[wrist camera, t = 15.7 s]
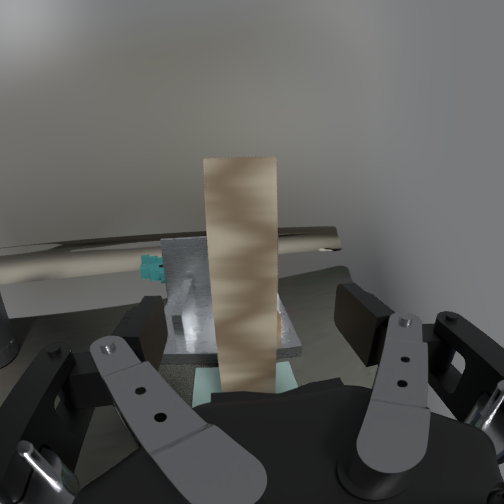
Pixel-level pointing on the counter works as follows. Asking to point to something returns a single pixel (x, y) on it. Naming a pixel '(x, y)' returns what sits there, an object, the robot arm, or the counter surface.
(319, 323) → the counter surface
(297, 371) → the counter surface
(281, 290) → the counter surface
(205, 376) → the teal mat
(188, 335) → the board rack
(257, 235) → the plywood board
